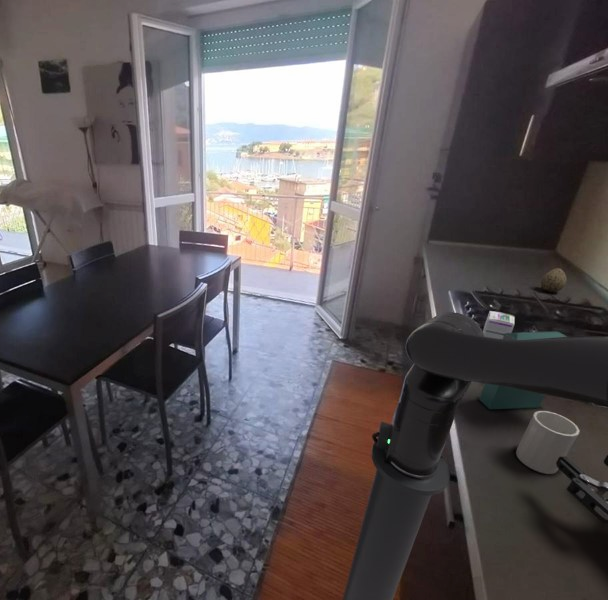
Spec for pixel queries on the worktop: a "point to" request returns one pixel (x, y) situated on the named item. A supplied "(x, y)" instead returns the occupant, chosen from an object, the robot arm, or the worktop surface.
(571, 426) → the cup
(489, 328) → the syrup box
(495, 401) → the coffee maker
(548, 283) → the decorative egg
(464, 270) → the worktop surface
